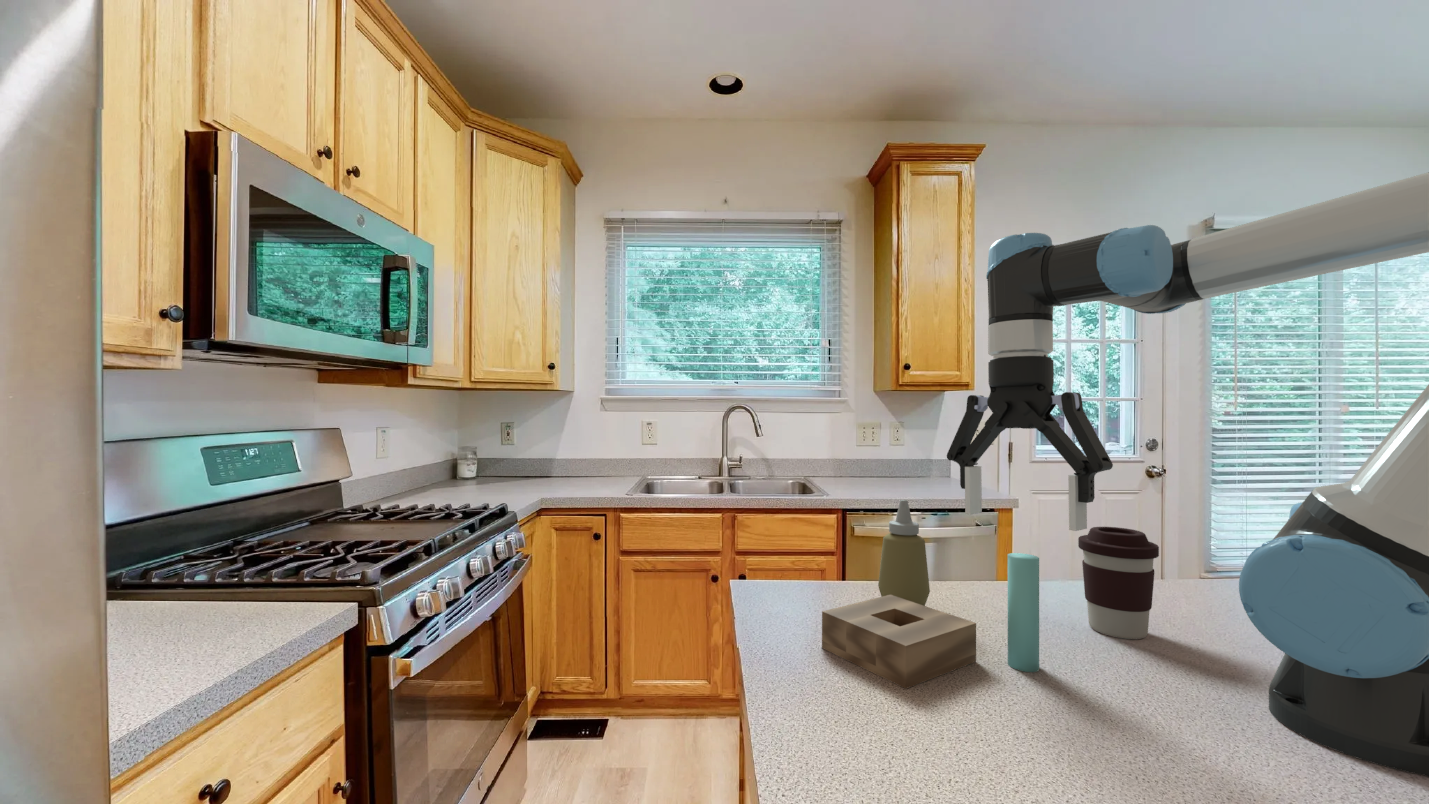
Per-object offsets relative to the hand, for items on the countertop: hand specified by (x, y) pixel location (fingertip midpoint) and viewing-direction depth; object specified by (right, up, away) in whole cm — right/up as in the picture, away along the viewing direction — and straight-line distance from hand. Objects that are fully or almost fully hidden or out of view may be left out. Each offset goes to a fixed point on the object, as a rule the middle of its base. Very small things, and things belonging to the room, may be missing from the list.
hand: (1021, 521), depth 76 cm
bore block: (-15, -18, +3) cm, 24 cm away
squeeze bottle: (-9, -19, +20) cm, 29 cm away
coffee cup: (+21, -19, +12) cm, 30 cm away
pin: (0, -19, 0) cm, 18 cm away
